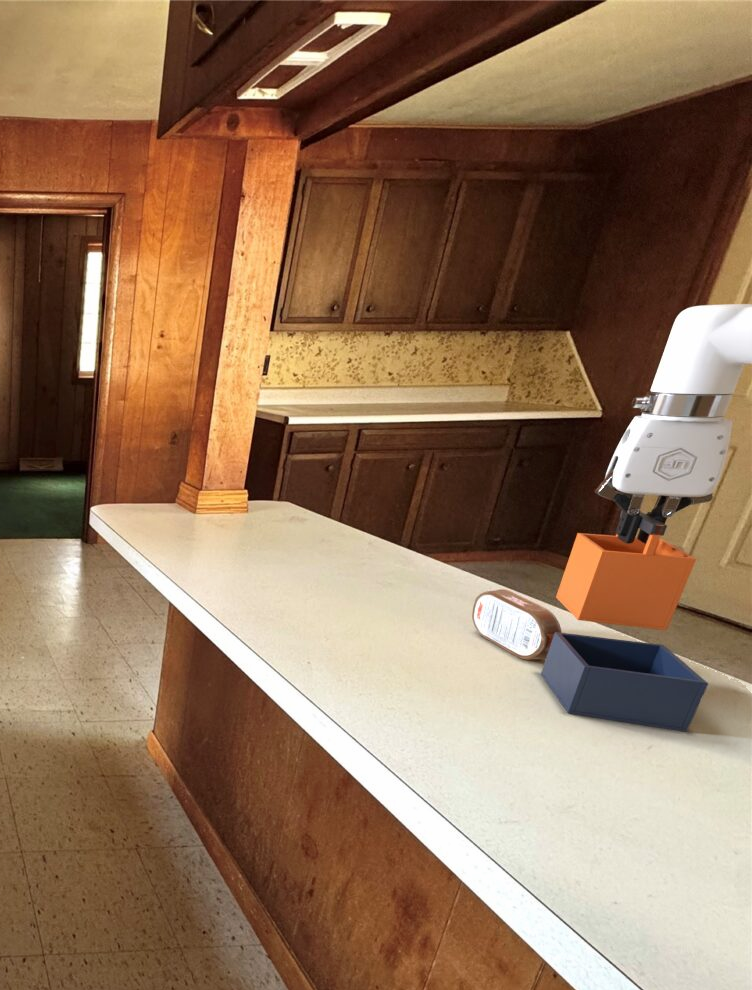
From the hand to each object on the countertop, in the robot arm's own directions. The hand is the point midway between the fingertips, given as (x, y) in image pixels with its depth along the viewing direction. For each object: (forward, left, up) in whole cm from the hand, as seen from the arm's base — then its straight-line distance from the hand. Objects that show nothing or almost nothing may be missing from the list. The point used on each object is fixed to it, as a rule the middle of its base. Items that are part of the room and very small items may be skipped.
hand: (634, 540), depth 93 cm
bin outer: (+2, +13, -19) cm, 23 cm away
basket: (0, 0, -11) cm, 11 cm away
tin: (+10, -2, -20) cm, 22 cm away
